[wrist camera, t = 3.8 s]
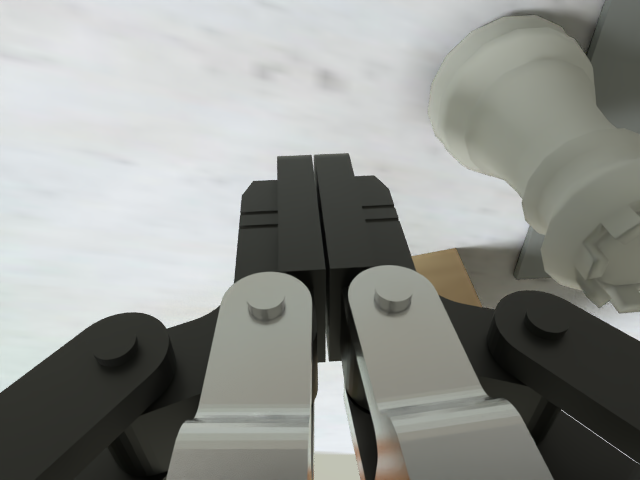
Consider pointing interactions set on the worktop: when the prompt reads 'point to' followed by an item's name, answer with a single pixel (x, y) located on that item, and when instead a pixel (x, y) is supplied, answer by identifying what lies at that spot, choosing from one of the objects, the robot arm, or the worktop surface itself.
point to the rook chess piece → (547, 149)
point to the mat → (603, 96)
